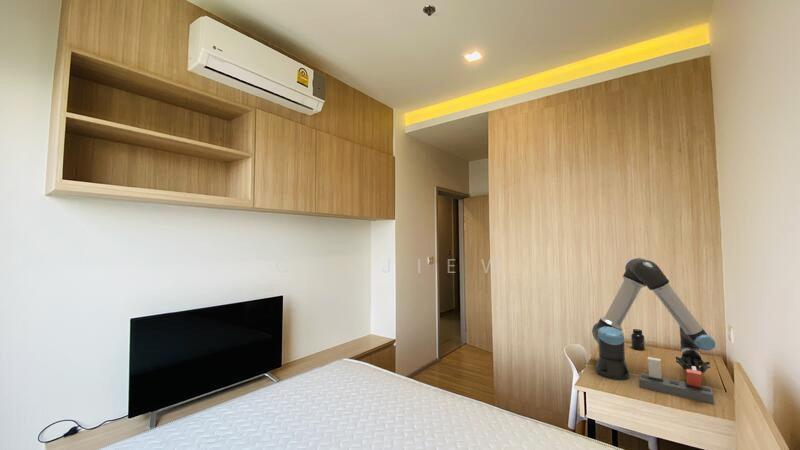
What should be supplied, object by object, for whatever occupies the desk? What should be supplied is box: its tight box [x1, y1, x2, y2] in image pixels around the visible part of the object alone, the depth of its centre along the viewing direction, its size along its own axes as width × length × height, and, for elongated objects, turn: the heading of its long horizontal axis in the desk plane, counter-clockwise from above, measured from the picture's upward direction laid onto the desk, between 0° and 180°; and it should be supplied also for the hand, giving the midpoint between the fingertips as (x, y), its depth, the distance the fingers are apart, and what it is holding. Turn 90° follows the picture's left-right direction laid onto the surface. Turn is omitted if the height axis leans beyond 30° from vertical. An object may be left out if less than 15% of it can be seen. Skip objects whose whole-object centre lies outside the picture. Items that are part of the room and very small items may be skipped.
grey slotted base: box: [639, 372, 715, 405], centre depth 154 cm, size 26×9×4 cm, turn 50°
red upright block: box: [686, 369, 702, 388], centre depth 147 cm, size 5×2×10 cm
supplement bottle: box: [630, 328, 646, 351], centre depth 208 cm, size 7×7×12 cm
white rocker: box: [647, 356, 663, 379], centre depth 157 cm, size 5×2×10 cm, turn 50°
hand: (694, 373), depth 147 cm, fingers closed
